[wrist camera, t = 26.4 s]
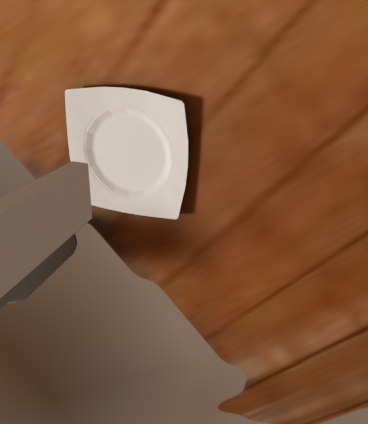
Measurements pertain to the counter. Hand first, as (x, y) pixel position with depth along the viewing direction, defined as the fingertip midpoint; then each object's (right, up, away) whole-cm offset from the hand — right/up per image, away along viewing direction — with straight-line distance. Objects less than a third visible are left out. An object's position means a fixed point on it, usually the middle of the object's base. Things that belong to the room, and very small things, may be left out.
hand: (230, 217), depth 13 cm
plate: (-11, +10, +39) cm, 42 cm away
